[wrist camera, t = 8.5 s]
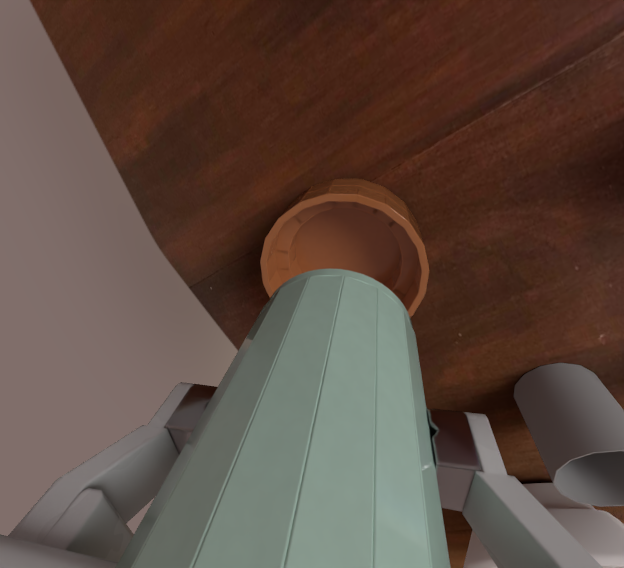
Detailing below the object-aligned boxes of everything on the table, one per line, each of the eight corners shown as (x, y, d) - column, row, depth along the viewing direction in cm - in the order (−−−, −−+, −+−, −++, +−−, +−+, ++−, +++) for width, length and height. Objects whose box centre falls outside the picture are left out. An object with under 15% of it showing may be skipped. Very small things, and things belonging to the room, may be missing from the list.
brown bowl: (267, 282, 36) (248, 312, 31) (298, 155, 28) (280, 167, 23) (385, 323, 36) (385, 361, 30) (448, 207, 28) (463, 230, 23)
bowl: (429, 467, 47) (443, 565, 37) (608, 440, 38) (689, 559, 28) (480, 541, 55) (502, 638, 45) (640, 533, 46) (712, 652, 36)
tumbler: (252, 359, 14) (65, 738, 6) (281, 245, 11) (-36, 707, 3) (377, 403, 14) (373, 854, 6) (442, 300, 11) (650, 961, 3)
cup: (497, 394, 38) (531, 479, 29) (554, 351, 33) (615, 437, 25) (554, 424, 38) (604, 516, 30) (618, 386, 34) (698, 481, 26)
